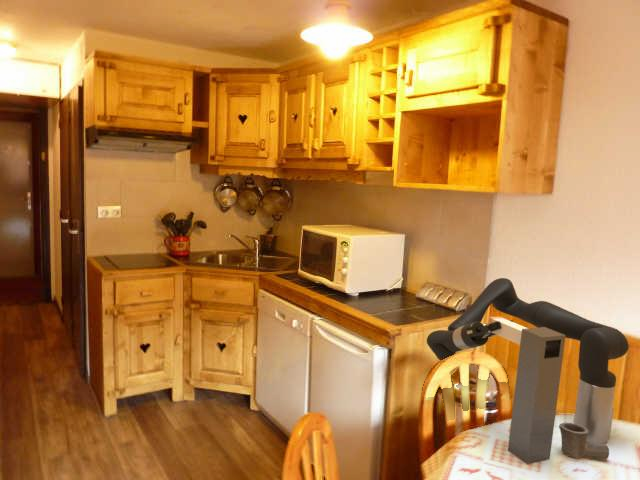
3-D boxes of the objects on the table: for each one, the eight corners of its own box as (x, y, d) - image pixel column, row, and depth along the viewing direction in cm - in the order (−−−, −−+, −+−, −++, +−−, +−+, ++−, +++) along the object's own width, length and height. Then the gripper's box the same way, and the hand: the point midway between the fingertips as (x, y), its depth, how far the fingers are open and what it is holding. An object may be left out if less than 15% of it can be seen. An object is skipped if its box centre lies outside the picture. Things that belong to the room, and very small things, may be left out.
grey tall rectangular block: (529, 445, 140) (544, 327, 136) (549, 459, 134) (565, 335, 129) (507, 450, 137) (522, 328, 133) (527, 464, 131) (542, 337, 126)
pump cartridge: (499, 330, 149) (500, 316, 149) (537, 347, 136) (539, 332, 135) (487, 331, 148) (489, 317, 147) (525, 348, 134) (527, 333, 133)
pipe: (609, 466, 133) (614, 438, 132) (558, 457, 135) (562, 430, 134) (602, 453, 139) (605, 426, 138) (553, 446, 141) (556, 419, 140)
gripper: (448, 325, 157) (483, 312, 142) (484, 323, 162) (521, 310, 148) (454, 349, 154) (490, 338, 140) (490, 346, 160) (529, 335, 145)
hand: (506, 324), depth 144 cm, fingers closed on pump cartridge, 4 cm apart
